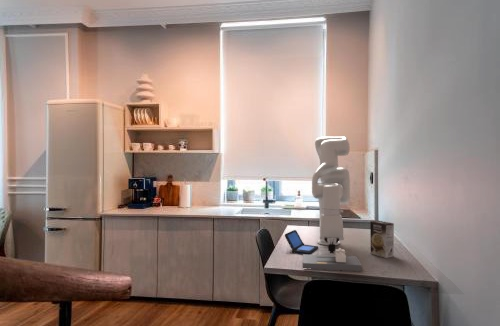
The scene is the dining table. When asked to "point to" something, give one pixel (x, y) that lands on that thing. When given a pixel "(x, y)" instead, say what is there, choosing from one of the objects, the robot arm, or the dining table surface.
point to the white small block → (340, 257)
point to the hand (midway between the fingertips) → (331, 252)
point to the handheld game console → (298, 244)
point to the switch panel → (331, 263)
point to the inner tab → (339, 251)
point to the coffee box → (382, 238)
